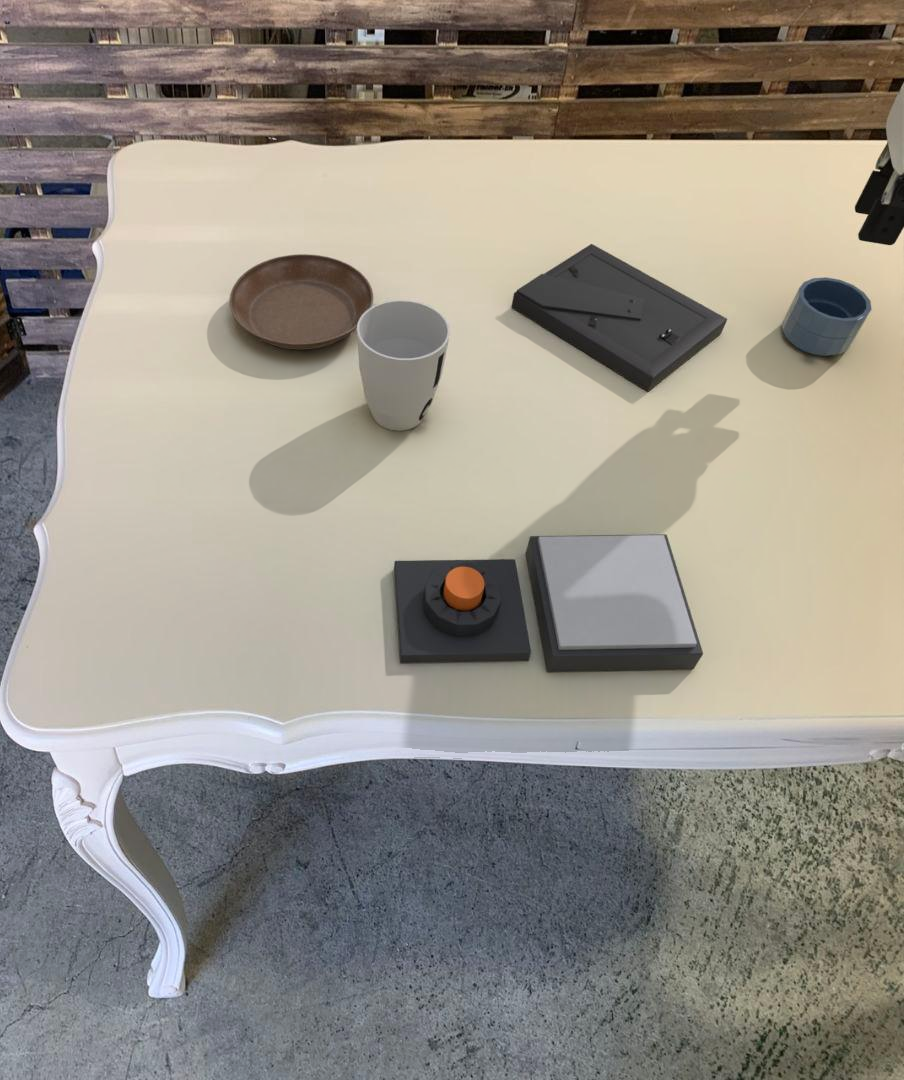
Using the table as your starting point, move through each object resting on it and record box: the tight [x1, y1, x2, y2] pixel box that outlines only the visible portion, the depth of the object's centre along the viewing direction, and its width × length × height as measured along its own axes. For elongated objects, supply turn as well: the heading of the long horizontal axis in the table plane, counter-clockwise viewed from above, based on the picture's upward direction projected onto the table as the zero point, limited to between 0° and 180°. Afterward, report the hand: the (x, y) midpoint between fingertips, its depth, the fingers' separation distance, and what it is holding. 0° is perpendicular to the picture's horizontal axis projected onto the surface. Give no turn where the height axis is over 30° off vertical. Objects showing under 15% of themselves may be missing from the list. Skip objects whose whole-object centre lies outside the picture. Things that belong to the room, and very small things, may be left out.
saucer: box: [229, 253, 374, 350], centre depth 93 cm, size 15×15×3 cm
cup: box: [356, 299, 451, 432], centre depth 82 cm, size 8×8×10 cm
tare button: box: [443, 567, 485, 611], centre depth 69 cm, size 3×3×2 cm
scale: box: [524, 533, 704, 673], centre depth 72 cm, size 12×12×3 cm
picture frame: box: [510, 243, 728, 392], centre depth 94 cm, size 13×2×18 cm
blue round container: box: [781, 276, 872, 357], centre depth 92 cm, size 7×7×5 cm
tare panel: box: [393, 558, 532, 664], centre depth 71 cm, size 10×9×3 cm
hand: (873, 225), depth 84 cm, fingers open, 3 cm apart
